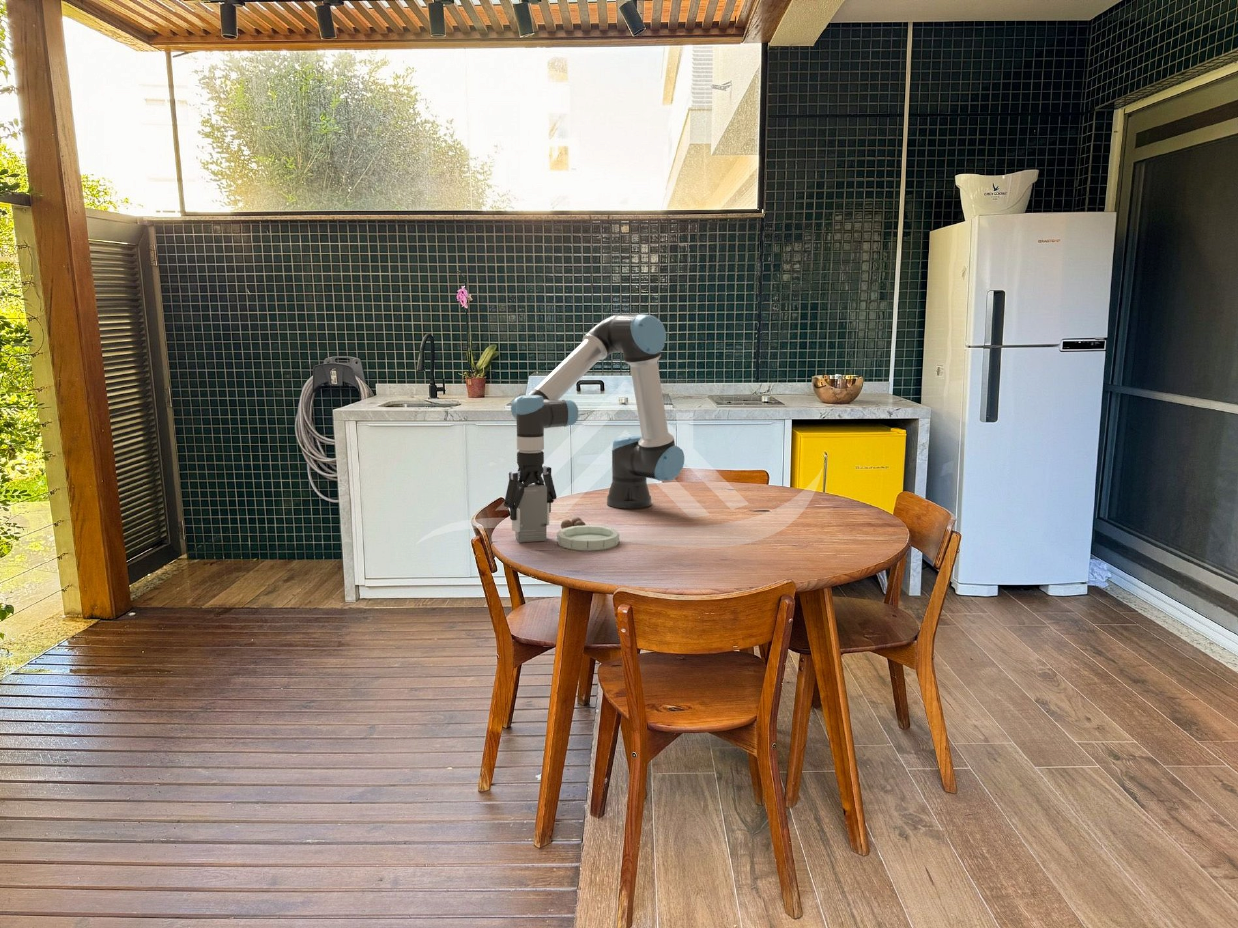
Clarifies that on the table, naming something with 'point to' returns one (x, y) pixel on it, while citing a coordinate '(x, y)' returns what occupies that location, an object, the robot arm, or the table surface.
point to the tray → (588, 538)
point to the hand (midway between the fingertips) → (531, 527)
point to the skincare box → (533, 514)
